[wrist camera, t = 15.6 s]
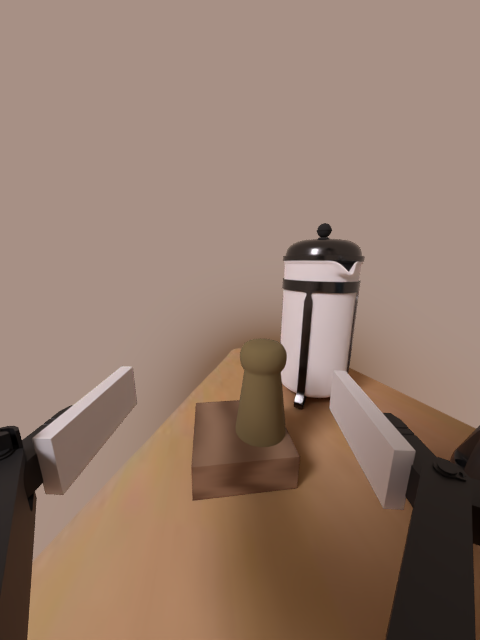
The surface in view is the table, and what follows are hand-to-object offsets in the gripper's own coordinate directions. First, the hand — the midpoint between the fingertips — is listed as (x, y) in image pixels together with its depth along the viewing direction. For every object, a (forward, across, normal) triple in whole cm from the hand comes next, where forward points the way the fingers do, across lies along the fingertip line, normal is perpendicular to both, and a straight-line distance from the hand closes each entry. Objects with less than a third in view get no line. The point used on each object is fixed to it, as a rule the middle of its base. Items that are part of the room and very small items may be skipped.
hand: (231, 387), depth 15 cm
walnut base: (+11, 0, -16) cm, 19 cm away
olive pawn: (+11, +2, -12) cm, 16 cm away
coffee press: (+28, +12, -16) cm, 35 cm away
